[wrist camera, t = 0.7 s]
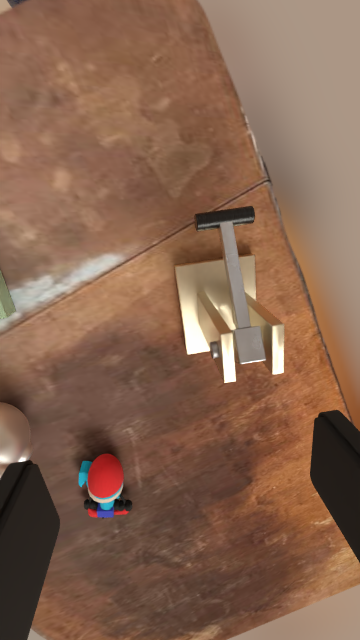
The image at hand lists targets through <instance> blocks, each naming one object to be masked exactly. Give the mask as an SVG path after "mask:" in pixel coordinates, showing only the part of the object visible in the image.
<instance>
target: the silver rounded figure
mask: <svg viewBox="0 0 360 640" xmlns="http://www.w3.org/2000/svg"><path fill="white" fill-rule="evenodd" d="M30 437H31V431H30V425H29V422H28V420H27V418H26V417H25V415H24V414H23V413H22V412H21V411H20V410H19V409H18V408H16V407H14V406H12V405H10V404H7V403H2V402H0V478H1V476H2V475H3V473H4V471H5V469H6V468H7V466H8V465H9V464H10V463H15V462H21V461H27V460H29V458H30V456H31V454H32V452H33V446H32V443H31V441H30Z"/></svg>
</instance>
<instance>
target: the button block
mask: <svg viewBox="0 0 360 640" xmlns="http://www.w3.org/2000/svg"><path fill="white" fill-rule="evenodd" d="M15 311H16V310H15V307H14V304H13V302H12V299H11V296H10V294H9V291H8V288H7V286H6V283H5V280H4V278H3V275H2V272H1V270H0V319H2V318H7V317H8V316H10V315H11V314H13V313H14V312H15Z"/></svg>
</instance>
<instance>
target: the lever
mask: <svg viewBox="0 0 360 640" xmlns="http://www.w3.org/2000/svg"><path fill="white" fill-rule="evenodd" d="M254 219H255V212H254V208H253V207H252V206H247V207H240V208H233V209H227V210H220V211H213V212H206V213H199V214H195V216H194V222H195V228H196V231H204V230H211V229H218V230H219V236H220V242H221V248H222V253H223V259H224V265H225V271H226V276H227V282H228V288H229V294H230V299H231V305H232V311H233V317H234V322H235V328H236V329H234V330H231V331H232V332H233V342H234V358H235V362H236V363H238V364H245V363H251V362H257V361H263V360H266V355H265V350H264V344H263V339H262V333H261V328H260V326H253V327H251V324H250V318H249V312H248V307H247V301H246V295H245V290H244V284H243V279H242V273H241V267H240V262H239V256H238V250H237V245H236V239H235V233H234V228H233V226H238V225H245V224H252V223H253V222H254Z"/></svg>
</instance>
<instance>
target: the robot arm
mask: <svg viewBox="0 0 360 640" xmlns="http://www.w3.org/2000/svg"><path fill="white" fill-rule="evenodd" d="M310 477H311V481H312V483H313V485H314V487H315V489H316V490H317V492H318V494H319V495H320V497H321V499H322V500H323V502H324V504H325V505H326V507H327V509H328V510H329V512H330V514H331V515H332V517H333V519H334V520H335V522H336V524H337V525H338V527H339V529H340V530H341V532H342V534H343V535H344V537H345V539H346V540H347V542H348V544H349V545H350V547H351V549H352V550H353V552H354V554H355V555H356V557H357V559H358V560H359V562H360V431H358V429H357V428H356V427H355V426H354V425H353V424H352V423H351V422H350V421H349V420H348V419H347V418H346V417H345V416H344V415H343V414H342V413H341V412H340V411H338V410H333V411H327V412H321V413H319V415H318V418H315V420H314V431H313V444H312V456H311V468H310ZM59 527H60V519H59V516H58V513H57V511H56V508H55V506H54V504H53V501H52V499H51V496H50V494H49V491H48V489H47V487H46V484H45V482H44V479H43V477H42V474H41V472H40V469H39V467H38V465H37V464H33V463H32V461H30V460H27V461H21V462H15V463H10V464H9V465H8V466H7V468H6V469H5V471H4V473H3V475H2V476H1V478H0V640H27V638H28V635H29V631H30V628H31V625H32V621H33V618H34V614H35V611H36V608H37V604H38V601H39V597H40V594H41V590H42V587H43V584H44V580H45V577H46V573H47V570H48V566H49V563H50V560H51V556H52V553H53V549H54V546H55V543H56V539H57V536H58V532H59Z"/></svg>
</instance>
